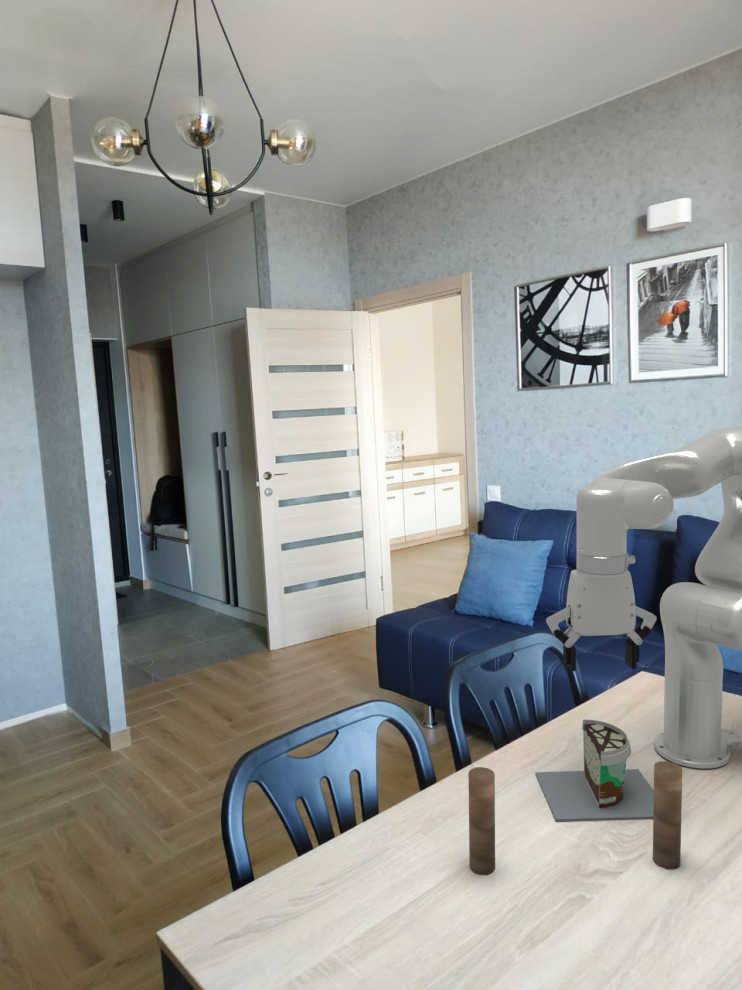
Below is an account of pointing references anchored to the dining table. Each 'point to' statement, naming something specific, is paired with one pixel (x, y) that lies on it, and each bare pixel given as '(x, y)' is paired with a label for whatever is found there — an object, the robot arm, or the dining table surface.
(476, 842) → the walnut post
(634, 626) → the robot arm
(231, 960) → the dining table surface
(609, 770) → the food container
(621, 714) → the dining table surface
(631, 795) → the charcoal mat
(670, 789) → the walnut post
